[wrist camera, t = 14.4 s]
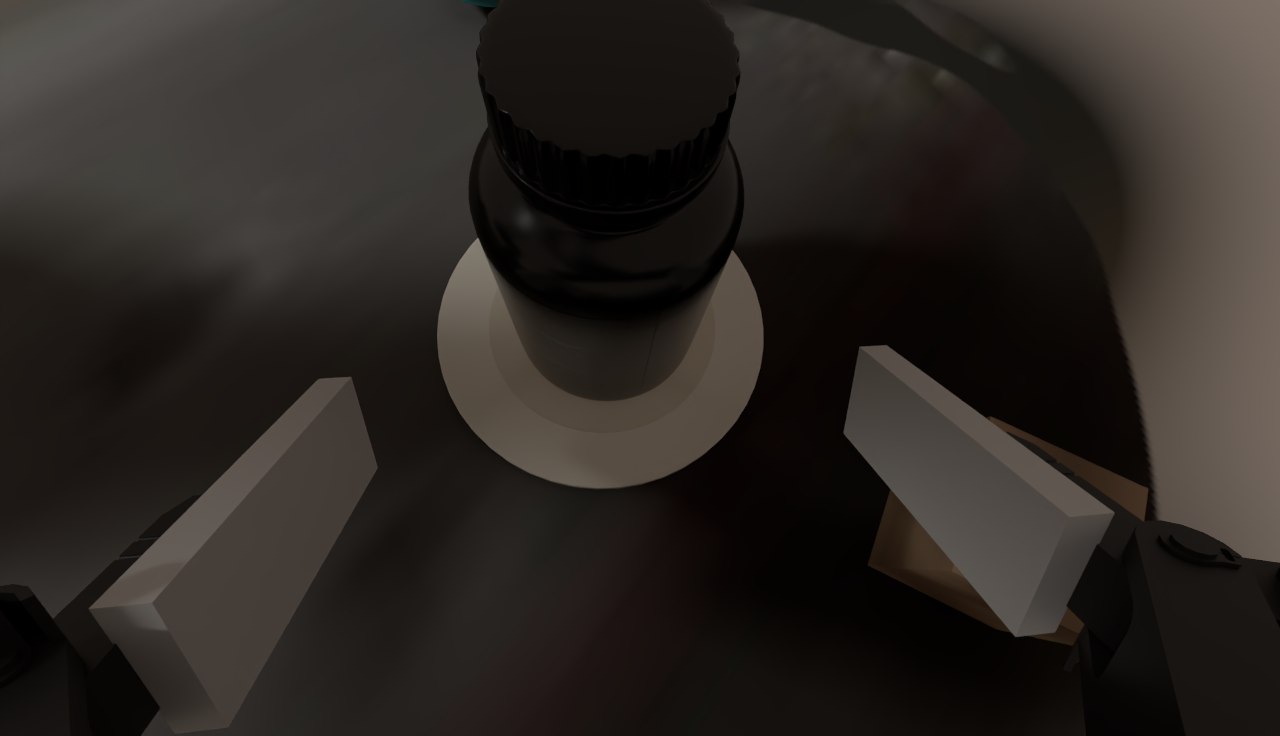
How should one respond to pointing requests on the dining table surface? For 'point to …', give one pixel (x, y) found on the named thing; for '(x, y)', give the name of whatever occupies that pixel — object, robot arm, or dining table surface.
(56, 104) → the dining table surface
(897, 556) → the walnut block
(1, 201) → the dining table surface
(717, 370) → the plate
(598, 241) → the supplement bottle
